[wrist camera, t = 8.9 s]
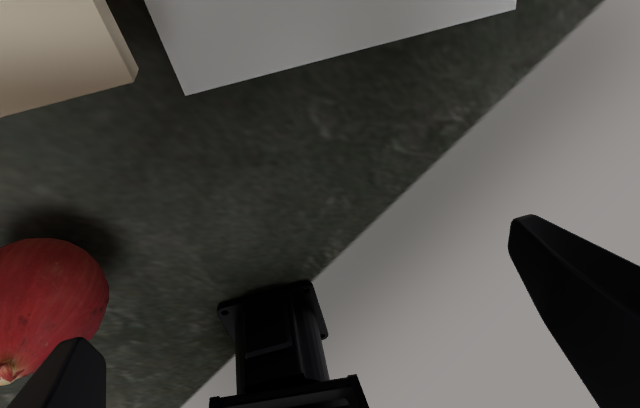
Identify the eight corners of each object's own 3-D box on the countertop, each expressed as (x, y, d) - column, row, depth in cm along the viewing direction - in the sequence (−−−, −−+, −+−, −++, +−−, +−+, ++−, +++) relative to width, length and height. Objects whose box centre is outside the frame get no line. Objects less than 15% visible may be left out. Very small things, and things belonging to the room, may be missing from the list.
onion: (142, 242, 24) (116, 375, 18) (79, 295, 26) (35, 433, 19) (39, 184, 21) (-37, 322, 14) (-26, 248, 22) (-119, 398, 16)
